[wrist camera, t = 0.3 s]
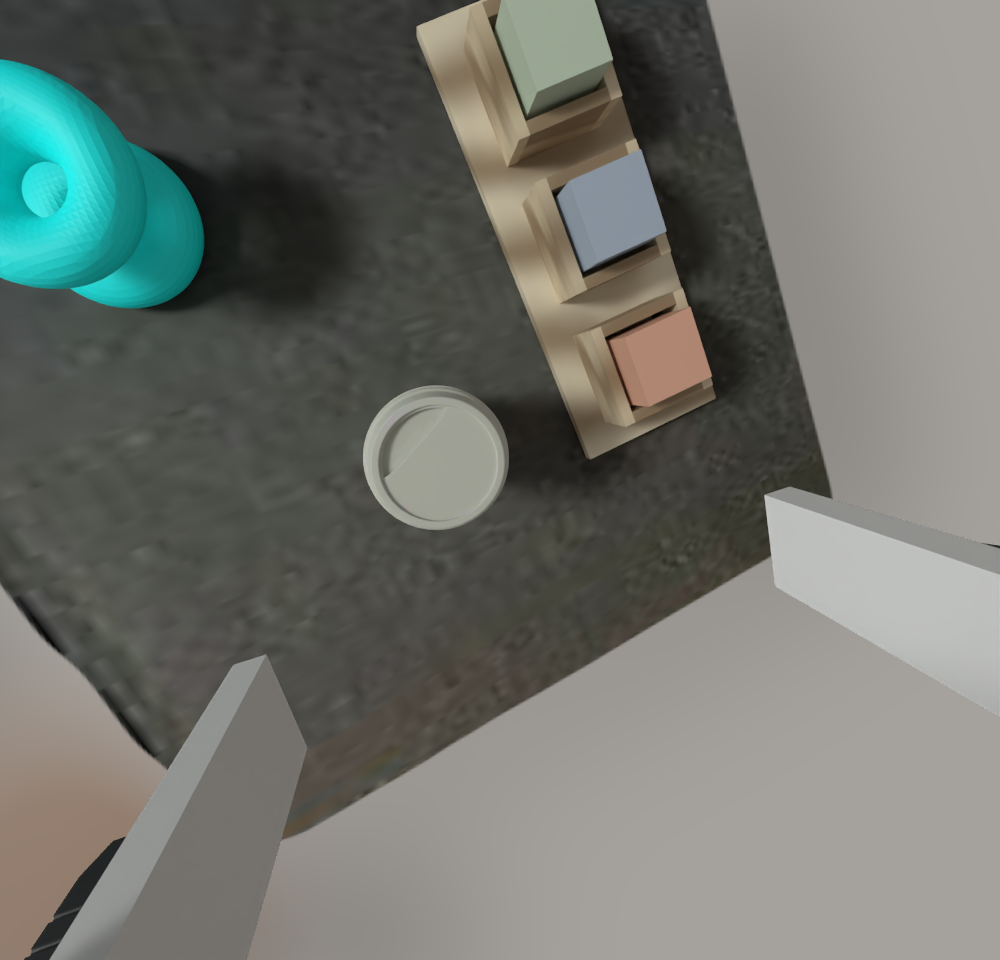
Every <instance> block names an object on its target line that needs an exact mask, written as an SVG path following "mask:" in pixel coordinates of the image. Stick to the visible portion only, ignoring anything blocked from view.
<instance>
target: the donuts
mask: <svg viewBox="0 0 1000 960" xmlns="http://www.w3.org/2000/svg"><path fill="white" fill-rule="evenodd" d="M203 252H204V231H203V225H202V221H201V217H200V214H199V211H198V209H197V206H196V204H195V202H194V200H193V198H192V196H191V194H190V193H189V191H188V189H187V188H186V186H185V185H184V184H183V182H182V181H181V180H180V178H179V177H178V176H177V175H176V174H175V173H174V172H173V171H172V170H171V169H170V168H169V167H168V166H167V165H166V164H164V163H163V162H162V161H161V160H160V159H158V158H157V157H156V156H154V155H153V154H151V153H150V152H148V151H146V150H144V149H143V148H141V147H139V146H137V145H134V144H132V143H130V142H127V141H126V139H125V138H124V136H123V135H122V134H121V132H120V131H119V129H118V128H117V127H116V125H115V124H114V123H113V122H112V120H111V119H110V118H109V117H108V116H107V115H106V114H105V113H104V112H103V111H102V110H101V109H100V108H99V107H98V106H97V105H96V104H95V103H93V102H92V101H91V100H90V99H89V98H87V97H86V96H85V95H84V94H82V93H81V92H80V91H78V90H77V89H76V88H74V87H73V86H71V85H70V84H68V83H66V82H64V81H63V80H61V79H59V78H57V77H55V76H53V75H51V74H49V73H47V72H44V71H42V70H40V69H37V68H35V67H32V66H29V65H25V64H22V63H18V62H14V61H8V60H0V278H3V279H6V280H8V281H11V282H15V283H18V284H22V285H27V286H31V287H37V288H46V289H66V288H70V289H72V290H73V291H75V292H77V293H79V294H80V295H82V296H84V297H86V298H88V299H90V300H93V301H96V302H98V303H102V304H105V305H109V306H114V307H120V308H145V307H151V306H154V305H158V304H161V303H164V302H166V301H168V300H170V299H172V298H174V297H175V296H177V295H178V294H180V293H181V292H182V291H183V290H184V289H185V288H186V287H187V286H188V285H189V284H190V283H191V281H192V280H193V278H194V277H195V275H196V273H197V271H198V269H199V267H200V264H201V261H202V257H203Z"/></svg>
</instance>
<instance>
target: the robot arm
mask: <svg viewBox="0 0 1000 960" xmlns="http://www.w3.org/2000/svg"><path fill="white" fill-rule="evenodd" d="M764 496H765V505H766V513H767V522H768V530H769V539H770V547H771V556H772V563H773V571H774V572H773V573H774V580H775V587H777V588H779V589H781V590H782V591H784V592H786V593H788V594H789V595H791V596H793V597H794V598H796V599H798V600H799V601H801V602H803V603H805V604H807V605H808V606H810V607H811V608H813V609H815V610H817V611H818V612H820V613H822V614H824V615H825V616H827V617H829V618H831V619H832V620H834V621H835V622H837V623H839V624H841V625H842V626H844V627H846V628H848V629H849V630H851V631H853V632H854V633H856V634H858V635H860V636H861V637H863V638H865V639H866V640H868V641H870V642H872V643H873V644H875V645H877V646H879V647H880V648H882V649H884V650H885V651H887V652H889V653H890V654H892V655H894V656H896V657H897V658H899V659H901V660H902V661H904V662H906V663H908V664H909V665H911V666H913V667H914V668H916V669H918V670H920V671H921V672H923V673H925V674H926V675H928V676H930V677H932V678H934V679H935V680H937V681H939V682H940V683H942V684H944V685H945V686H947V687H949V688H951V689H952V690H954V691H956V692H958V693H959V694H961V695H963V696H964V697H966V698H968V699H970V700H971V701H973V702H975V703H976V704H978V705H980V706H982V707H983V708H985V709H987V710H988V711H990V712H992V713H993V714H995V715H997V716H999V717H1000V546H998V545H991V544H984V543H979V542H976V541H972V540H968V539H965V538H962V537H959V536H955V535H952V534H948V533H945V532H942V531H938V530H935V529H931V528H928V527H925V526H921V525H918V524H914V523H911V522H908V521H904V520H901V519H898V518H894V517H891V516H887V515H884V514H880V513H877V512H874V511H870V510H867V509H864V508H860V507H857V506H853V505H850V504H847V503H843V502H840V501H836V500H833V499H830V498H826V497H823V496H820V495H816V494H813V493H809V492H806V491H803V490H799V489H796V488H792V487H788V488H784V489H781V490H778V491H775V492H772V493H769V494H766V495H764ZM306 751H307V746H306V744H305V742H304V739H303V737H302V735H301V733H300V730H299V728H298V726H297V723H296V721H295V719H294V717H293V714H292V712H291V710H290V707H289V705H288V703H287V701H286V698H285V696H284V694H283V691H282V689H281V687H280V685H279V682H278V680H277V678H276V675H275V673H274V671H273V669H272V666H271V664H270V662H269V659H268V657H267V655H263V656H260V657H257V658H254V659H251V660H248V661H244V662H241V663H238V664H235V665H233V666H232V668H231V669H230V671H229V673H228V674H227V676H226V677H225V679H224V681H223V682H222V684H221V685H220V687H219V689H218V690H217V692H216V693H215V695H214V697H213V698H212V700H211V702H210V703H209V705H208V706H207V708H206V710H205V711H204V713H203V714H202V716H201V718H200V719H199V721H198V722H197V724H196V726H195V727H194V729H193V730H192V732H191V734H190V735H189V737H188V738H187V740H186V742H185V743H184V745H183V746H182V748H181V750H180V751H179V753H178V754H177V756H176V758H175V759H174V761H173V762H172V764H171V766H170V767H169V769H168V770H167V772H166V774H165V775H164V777H163V779H162V780H161V782H160V783H159V785H158V787H157V788H156V790H155V791H154V793H153V795H152V796H151V798H150V799H149V801H148V803H147V804H146V806H145V807H144V809H143V811H142V812H141V814H140V815H139V817H138V819H137V820H136V822H135V823H134V825H133V827H132V828H131V830H130V831H129V833H128V835H127V836H126V837H123V838H120V839H118V840H115V841H113V842H112V843H111V844H110V845H109V846H108V847H107V848H106V849H105V850H104V851H103V852H102V853H101V854H100V856H99V857H98V858H97V859H96V860H95V861H94V862H93V863H92V864H91V865H90V866H89V867H88V868H87V869H86V870H85V871H84V872H83V874H82V875H81V876H80V877H79V878H78V880H77V881H76V883H75V884H74V886H73V887H72V889H71V890H70V892H69V893H68V895H67V896H66V898H65V899H64V901H63V902H62V904H61V905H60V907H59V908H58V910H57V911H56V913H55V914H54V920H53V922H51V923H48V925H47V926H46V928H45V929H44V931H43V932H42V934H41V935H40V937H39V938H38V940H37V941H36V943H35V944H34V946H33V947H32V949H31V950H32V953H31V955H30V956H29V957H26V958H25V959H24V960H247V957H248V953H249V950H250V946H251V942H252V939H253V936H254V932H255V929H256V925H257V921H258V918H259V915H260V911H261V908H262V904H263V901H264V897H265V894H266V890H267V887H268V883H269V880H270V876H271V873H272V869H273V866H274V863H275V859H276V856H277V852H278V849H279V845H280V842H281V838H282V835H283V831H284V828H285V824H286V821H287V817H288V814H289V810H290V807H291V803H292V800H293V796H294V793H295V789H296V786H297V782H298V779H299V775H300V772H301V768H302V765H303V761H304V758H305V754H306Z"/></svg>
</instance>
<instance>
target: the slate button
mask: <svg viewBox="0 0 1000 960" xmlns="http://www.w3.org/2000/svg"><path fill="white" fill-rule="evenodd" d="M554 201H555V203H556V206H557V209H558V212H559V214H560V217H561V220H562V223H563V225H564V228H565V231H566V233H567V236H568V239H569V242H570V244H571V247H572V250H573V253H574V255H575V258H576V261H577V264H578V266H579V269H580V272H581V274H583V273H585V272H587V271H589V270H591V269H593V268H596V267H598V266H600V265H602V264H604V263H607V262H609V261H611V260H613V259H615V258H618V257H620V256H622V255H624V254H626V253H629V252H631V251H633V250H635V249H637V248H639V247H641V246H643V245H644V244H646V243H648V242H649V241H651V240H653V239H654V238H656V237H658V236H660V235H661V234H663V233H665V232H666V231H667V230H666V227H665V224H664V221H663V218H662V214H661V211H660V208H659V205H658V201H657V198H656V195H655V192H654V189H653V185H652V182H651V179H650V176H649V173H648V169H647V166H646V163H645V160H644V157H643V153H642V150H641V149H640V150H638V151H636V152H633V153H631V154H629V155H627V156H624V157H622V158H620V159H618V160H615V161H613V162H611V163H608V164H606V165H604V166H602V167H599V168H597V169H595V170H593V171H590V172H588V173H586V174H584V175H581V176H579V177H577V178H574V179H572V180H570V181H569V182H568V183H567V184H566V185H565V187H564V188H563V189H562V191H561V192H560V193H559V195H558V196H557V197H556V198H555V200H554Z"/></svg>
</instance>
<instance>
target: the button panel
mask: <svg viewBox="0 0 1000 960" xmlns="http://www.w3.org/2000/svg"><path fill="white" fill-rule="evenodd" d="M500 4H501V0H481V1H478V2H476V3H473V4H471V5H468V6H466V7H463V8H461V9H458V10H456V11H454V12H451V13H449V14H446V15H444V16H441V17H439V18H436V19H434V20H431V21H429V22H426V23H424V24H422V25H419V26H417V39H418V41H419V44H420V46H421V49H422V51H423V54H424V56H425V59H426V61H427V64H428V66H429V69H430V71H431V74H432V76H433V79H434V81H435V84H436V86H437V89H438V91H439V94H440V96H441V98H442V101H443V103H444V106H445V108H446V111H447V113H448V116H449V118H450V121H451V123H452V126H453V128H454V131H455V133H456V136H457V138H458V141H459V143H460V146H461V148H462V151H463V153H464V156H465V158H466V160H467V163H468V165H469V168H470V170H471V173H472V175H473V178H474V180H475V183H476V185H477V188H478V190H479V193H480V195H481V198H482V200H483V203H484V205H485V208H486V210H487V213H488V215H489V218H490V220H491V222H492V225H493V227H494V230H495V232H496V235H497V237H498V240H499V242H500V245H501V247H502V250H503V252H504V255H505V257H506V260H507V262H508V265H509V267H510V270H511V272H512V275H513V277H514V279H515V282H516V284H517V287H518V289H519V292H520V294H521V297H522V299H523V302H524V304H525V307H526V309H527V312H528V314H529V317H530V319H531V322H532V324H533V327H534V329H535V332H536V334H537V337H538V339H539V341H540V344H541V346H542V349H543V351H544V354H545V356H546V359H547V361H548V364H549V366H550V369H551V371H552V374H553V376H554V379H555V381H556V384H557V386H558V389H559V391H560V394H561V396H562V399H563V401H564V403H565V406H566V408H567V411H568V413H569V416H570V418H571V421H572V423H573V426H574V428H575V431H576V433H577V436H578V438H579V441H580V443H581V446H582V448H583V451H584V453H585V456H586V458H588V459H592V458H595V457H597V456H599V455H601V454H603V453H605V452H607V451H609V450H611V449H613V448H615V447H617V446H619V445H621V444H623V443H625V442H627V441H629V440H631V439H634V438H636V437H638V436H640V435H642V434H644V433H646V432H648V431H650V430H652V429H654V428H656V427H658V426H660V425H662V424H664V423H666V422H668V421H670V420H673V419H675V418H677V417H679V416H681V415H683V414H685V413H687V412H689V411H691V410H693V409H695V408H697V407H699V406H701V405H703V404H705V403H707V402H710V401H712V400H714V399H716V396H715V393H714V390H713V387H712V385H713V383H712V380H711V377H710V378H708V379H706V380H704V381H702V382H700V383H697V384H695V385H693V386H691V387H689V388H687V389H685V390H683V391H681V392H679V393H677V394H675V395H673V396H671V397H669V398H666V399H664V400H662V401H660V402H658V403H656V404H654V405H652V406H650V407H646V406H637V405H629V403H628V400H627V397H626V395H625V392H624V389H623V387H622V384H621V381H620V378H619V376H618V373H617V370H616V367H615V365H614V362H613V359H612V356H611V354H610V351H609V348H608V346H607V343H606V340H608V339H610V338H612V337H614V336H616V335H618V334H621V333H623V332H625V331H627V330H629V329H631V328H633V327H635V326H638V325H640V324H642V323H644V322H646V321H648V320H650V319H653V318H655V317H657V316H659V315H661V314H665V313H669V312H672V311H676V310H680V309H684V308H687V307H689V306H688V303H687V300H686V297H685V294H684V290H683V288H681V285H680V281H679V278H678V275H677V272H676V269H675V265H674V262H673V259H672V256H671V253H670V252H671V249H670V246H669V243H668V239H667V236H666V233H663V234H661V235H660V236H658V237H656V238H654V239H653V240H651V241H649V242H648V243H646V244H644V245H643V246H641V247H639V248H637V249H635V250H633V251H631V252H629V253H626V254H624V255H622V256H620V257H618V258H615V259H613V260H611V261H609V262H607V263H604V264H602V265H600V266H598V267H596V268H593V269H591V270H589V271H587V272H585V273H583V274H581V272H580V269H579V266H578V264H577V261H576V258H575V255H574V253H573V250H572V247H571V244H570V242H569V239H568V236H567V233H566V231H565V228H564V225H563V223H562V220H561V217H560V214H559V212H558V209H557V206H556V203H555V201H554V200H555V198H556V197H557V196H558V195H559V193H560V192H561V191H562V189H563V188H564V187H565V185H566V184H567V183H568V182H569V181H570V180H572V179H574V178H577V177H579V176H581V175H584V174H586V173H588V172H590V171H593V170H595V169H597V168H599V167H602V166H604V165H606V164H608V163H611V162H613V161H615V160H618V159H620V158H622V157H624V156H627V155H629V154H631V153H633V152H636V151H638V150H639V147H638V144H637V140H636V139H635V138H634V135H633V132H632V128H631V125H630V122H629V119H628V116H627V113H626V109H625V106H624V103H623V100H622V92H621V89H620V86H619V83H618V80H617V76H616V73H615V70H614V67H613V64H612V62H611V64H610V65H609V67H608V69H607V70H606V72H605V74H604V75H603V77H602V78H601V80H600V82H599V83H598V85H597V87H596V88H595V90H594V91H593V93H591V94H588V95H586V96H584V97H581V98H579V99H577V100H574V101H572V102H570V103H567V104H565V105H563V106H560V107H558V108H556V109H553V110H551V111H549V112H546V113H544V114H542V115H539V116H537V117H535V118H532V119H530V120H528V121H525V119H524V116H523V113H522V110H521V108H520V105H519V102H518V100H517V97H516V94H515V91H514V89H513V86H512V83H511V80H510V78H509V75H508V72H507V69H506V67H505V64H504V61H503V59H502V56H501V53H500V50H499V48H498V45H497V42H496V39H495V37H494V30H495V26H496V21H497V17H498V13H499V8H500Z"/></svg>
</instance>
